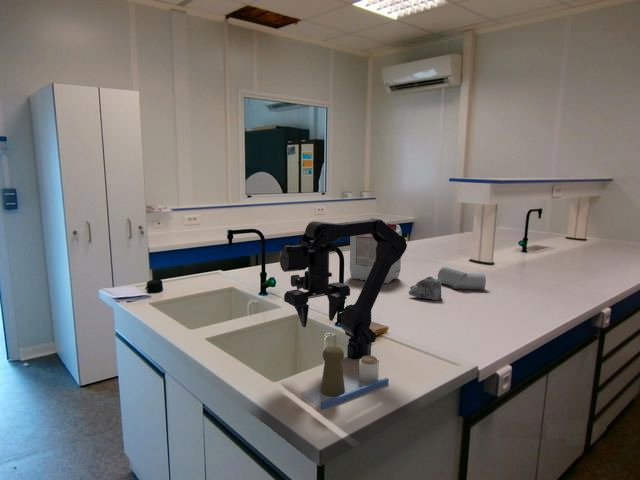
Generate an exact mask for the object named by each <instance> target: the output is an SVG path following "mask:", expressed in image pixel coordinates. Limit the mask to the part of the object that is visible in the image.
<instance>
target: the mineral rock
mask: <svg viewBox="0 0 640 480" xmlns="http://www.w3.org/2000/svg"><path fill="white" fill-rule="evenodd" d="M409 289H410V290H409V291H408V295H409V296H412V297H414V298H419V299H424V300H428V299H430V300H432V301H433V300H434V301H441V299H442V283H441V281H440V280H439V279H438V278H435V277H433V276H427V277H426V278H424V279H421V280H420V281H417V282H416V284H414V285H411V286H410V287H409Z"/></svg>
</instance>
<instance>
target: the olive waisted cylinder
mask: <svg viewBox="0 0 640 480" xmlns="http://www.w3.org/2000/svg"><path fill="white" fill-rule="evenodd" d="M344 358H345V353H344V349H343V348H341V347H339V346H337V345H335V346H334V345H332V346H331V345H330V346H327V347H325V348H324V349H323V351H322V360H323V361H324V365H323V371H322V377H321V378H322V379H321V382H320V383H321V384H320V387H321V393H322V394H324V395H325V396H329V397H336V396H339V395H342V394H344V393H345V386H344V371H343V361H344Z"/></svg>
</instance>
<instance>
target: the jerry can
mask: <svg viewBox="0 0 640 480" xmlns="http://www.w3.org/2000/svg"><path fill="white" fill-rule="evenodd" d="M385 224H386V225H387V226H388V227H390V228H391V229H393V230H394V231H395V232H397V233H398V234H399V235H400V236H403V233H402V228H401V226H400V225H399V224H397V223H394V222H387V223H385ZM349 241H350V242H349V243H350V247H349V249H350V250H349V272H350V278H351V279H353V280H358V279H360V280H359V281H363V280H365V282H366V280H367V278H368V276H369V273H370V271H371V269H372V267H373V265H374V263H375V260H376V247H377V242H376V241H375V240H374V239H373V237H372V235H371V234H365V235H358V236H350V238H349ZM401 261H402V257H401V258H400V259H399V260H398V261H397V262H396V263H394V264H393V265H392V266H391V268H390V270H389V272H388V275H387V277H386V279H385V281H384V283H387V284H390V283H391V282H392V280H397V279H398V278H399V277H400V272H401V263H402V262H401Z"/></svg>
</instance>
